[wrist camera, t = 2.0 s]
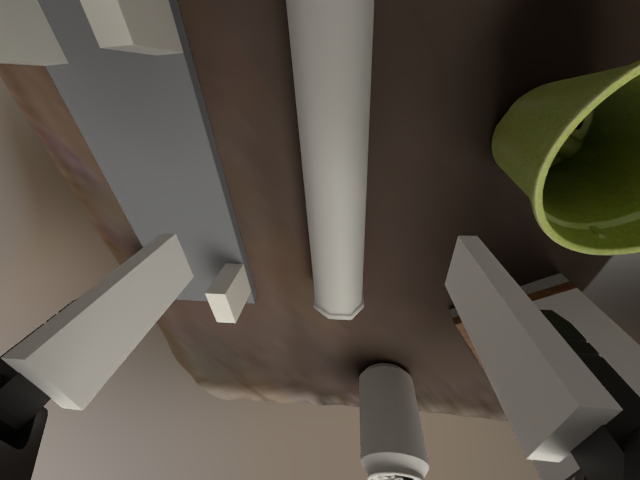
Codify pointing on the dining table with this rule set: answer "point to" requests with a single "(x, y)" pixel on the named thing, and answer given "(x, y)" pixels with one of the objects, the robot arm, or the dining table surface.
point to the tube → (334, 141)
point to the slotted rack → (142, 126)
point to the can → (390, 425)
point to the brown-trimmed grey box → (598, 330)
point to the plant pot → (579, 159)
